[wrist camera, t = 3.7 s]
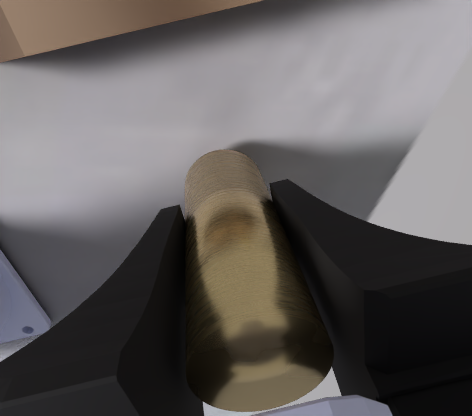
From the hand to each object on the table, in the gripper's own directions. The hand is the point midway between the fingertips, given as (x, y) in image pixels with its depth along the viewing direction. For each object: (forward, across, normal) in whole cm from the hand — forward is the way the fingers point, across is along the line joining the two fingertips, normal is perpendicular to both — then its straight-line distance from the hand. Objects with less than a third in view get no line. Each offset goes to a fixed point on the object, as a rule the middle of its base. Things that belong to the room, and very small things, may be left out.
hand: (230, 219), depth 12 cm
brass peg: (+2, 0, 0) cm, 2 cm away
